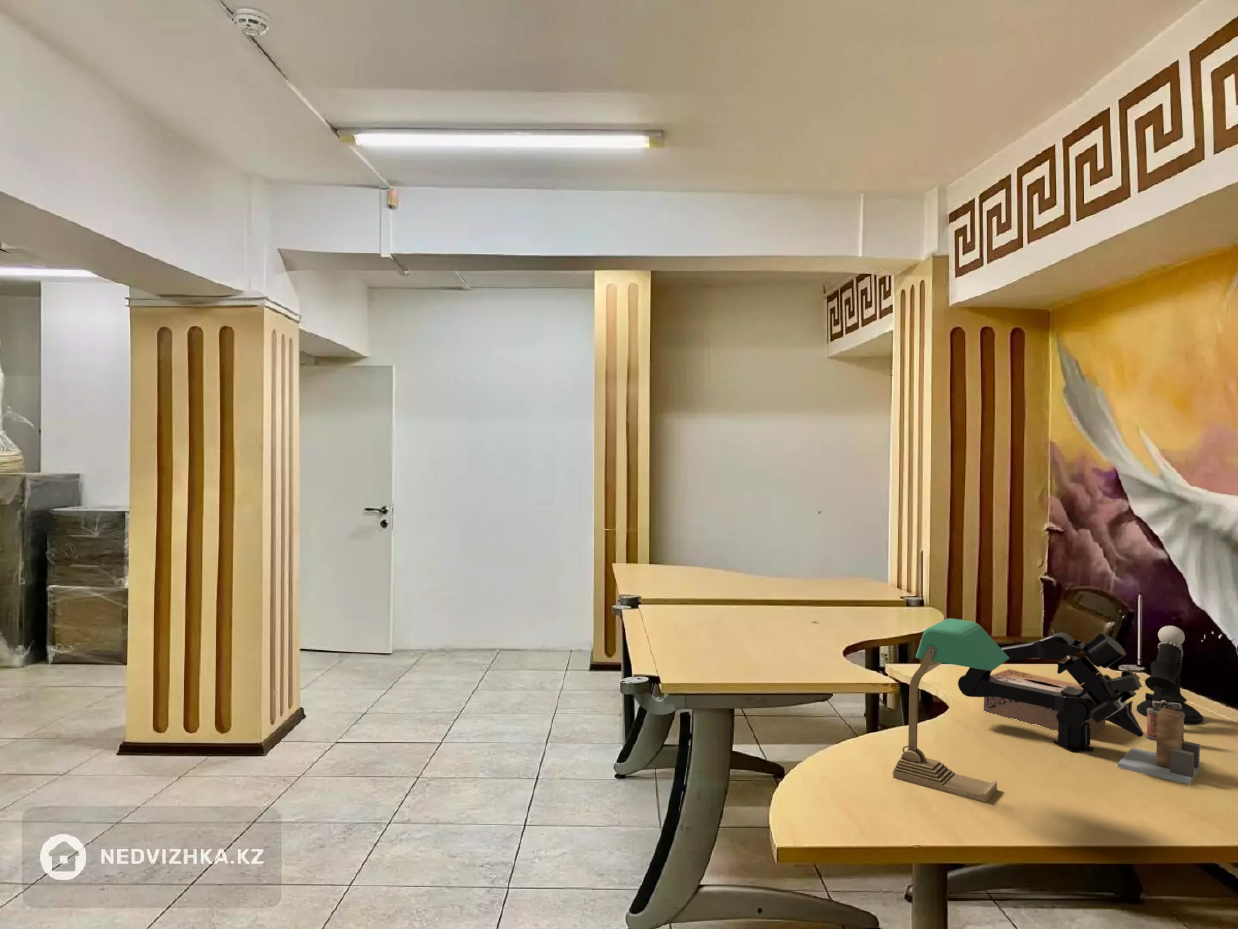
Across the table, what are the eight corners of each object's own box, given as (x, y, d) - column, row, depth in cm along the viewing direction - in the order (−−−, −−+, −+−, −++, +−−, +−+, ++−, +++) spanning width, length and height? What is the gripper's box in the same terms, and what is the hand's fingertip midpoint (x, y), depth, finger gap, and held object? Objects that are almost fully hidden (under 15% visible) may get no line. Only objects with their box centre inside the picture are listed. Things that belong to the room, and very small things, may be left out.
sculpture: (1207, 716, 221) (1209, 627, 221) (1190, 736, 205) (1192, 640, 205) (1143, 703, 232) (1145, 618, 232) (1122, 721, 216) (1124, 630, 215)
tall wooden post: (1156, 764, 182) (1157, 712, 181) (1160, 758, 185) (1161, 707, 185) (1177, 769, 179) (1178, 716, 179) (1181, 763, 182) (1182, 711, 182)
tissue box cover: (983, 712, 223) (984, 677, 223) (1008, 703, 232) (1009, 669, 231) (1082, 739, 202) (1082, 700, 202) (1105, 727, 211) (1106, 690, 211)
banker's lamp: (911, 761, 185) (914, 612, 184) (1008, 786, 171) (1011, 625, 171) (886, 782, 172) (889, 622, 172) (988, 810, 159) (992, 637, 159)
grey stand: (1117, 767, 183) (1118, 741, 183) (1131, 751, 193) (1132, 727, 193) (1189, 785, 173) (1190, 757, 173) (1200, 767, 183) (1201, 742, 183)
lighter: (1146, 739, 202) (1147, 700, 201) (1145, 735, 205) (1146, 697, 204) (1185, 745, 198) (1186, 705, 198) (1183, 741, 201) (1184, 702, 201)
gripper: (1108, 667, 182) (1163, 727, 175) (1127, 653, 196) (1179, 709, 188) (1069, 693, 188) (1121, 752, 181) (1090, 678, 201) (1139, 733, 194)
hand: (1142, 735), depth 186 cm, fingers closed
